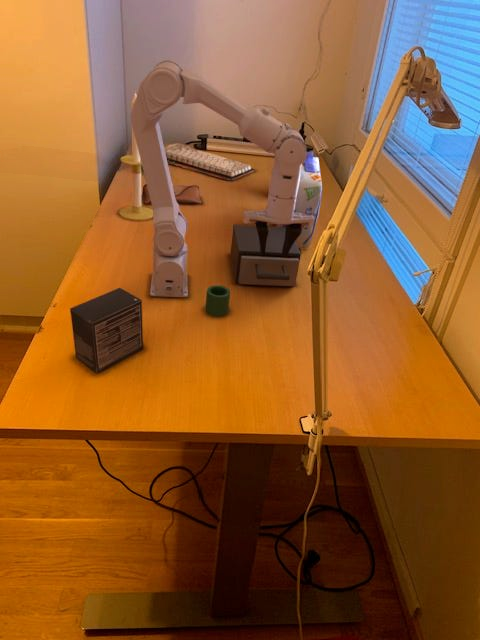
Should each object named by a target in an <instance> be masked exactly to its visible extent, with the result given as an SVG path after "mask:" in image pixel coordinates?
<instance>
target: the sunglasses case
mask: <svg viewBox="0 0 480 640" xmlns="http://www.w3.org/2000/svg"><path fill="white" fill-rule="evenodd" d="M172 185H173V190H174V194H175V199H176V202H177V203H178V205H200V204H203V202H202V200H201V196H200V195H201V194H200V186H199V185H196V184H193V185H178V184H176V185H175V184H172ZM142 200H143V202H144V204H146V205H147V204H152V203H151V199H150V195H149V191H148V187H147V183H145V184H144V185H143V186H142Z"/></svg>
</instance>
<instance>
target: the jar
mask: <svg viewBox="0 0 480 640" xmlns="http://www.w3.org/2000/svg"><path fill="white" fill-rule="evenodd" d="M205 295H206V296H205V313H206V314H207V315H209V316H211V317H215V318H222V317H225V316H227V315H228V314H229V309H230V308H229V307H230V298H231V290H230V288H228V287H226V286H224V285H219V284H217V285H216V284H215V285H211V286H209V287H207V289H206V294H205Z"/></svg>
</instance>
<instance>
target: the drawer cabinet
mask: <svg viewBox="0 0 480 640" xmlns="http://www.w3.org/2000/svg"><path fill="white" fill-rule="evenodd" d="M231 231H232V233H231V242H230V243H231V244H230V253H229V255H230V256H229V257H230V261H231V268H232V273H233V279H234V284H235V285H236V284H237V285H238V284H239V273H240V264H241V256H242V254H254V255H261V254H260V242H259V236H258V232H257V229H256V226H255V225H253V224H235V223H234V224H232V230H231ZM268 231H269V232H268V236H267V241H266V249H265V255H275V256H283V255H282V249H283V244H284V240H285V232H286V227H277V226H269V225H268ZM301 255H302V253H301V251H300V248H298V246H297V244H296V242H294V244H293V245H292V247H291V249H290V251H289V253H288V255H287V256H294V258H298V259H299V264H298V268H299V266H300V261H301ZM298 272H299V269H298V270H297V273H298ZM297 277H298V274H297V275H296V278H297ZM296 283H297V279H296V280H295V284H296ZM239 285H240V284H239Z"/></svg>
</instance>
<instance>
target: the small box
mask: <svg viewBox="0 0 480 640" xmlns="http://www.w3.org/2000/svg"><path fill="white" fill-rule="evenodd" d="M142 303H143V299H141V298H139V297H138V296H136V295H134V294H132V293H131V292H129V291H127V290H125V289H123V288H122V287H118V288H115V289H113V290H110V291H108V292H106V293H103V294H101V295H99V296H96V297H94V298H91V299H89V300H87V301H84V302H81V303H80V304H78V305H75V306H72V307H70V308H69V311H70V320H71V327H72V328H71V329H72V335H73V336H72V337H73V345H74V352H75V359H77V360H78V361H79V362H80V363H82V364H83V365H84V366H86V367H87V368H89V369H90V370H91V371H92V372H94V373H95V374H99V373H101V372H102V371H105V370H107V369H108V368H110V367H111V366H114V365H116V364H117V363H119V362H121V361H123V360H126V358H129V357H131V356H132V355H134V354H136V353H137V352H140V351H142V350H144V346H145V345H144V334H143V333H144V331H143V330H144V329H143V304H142Z"/></svg>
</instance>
